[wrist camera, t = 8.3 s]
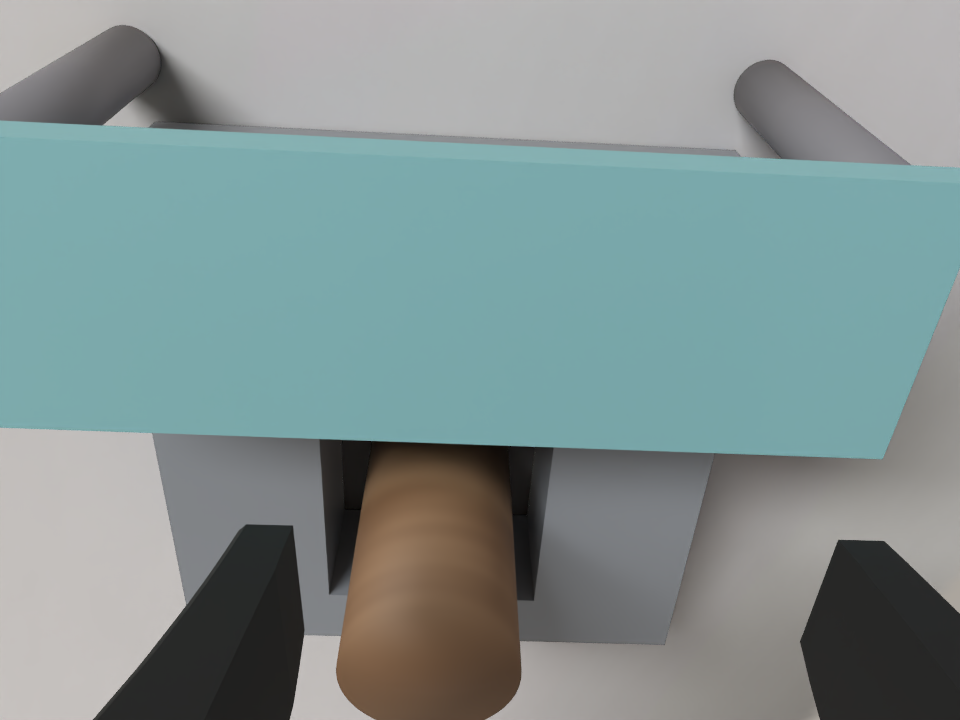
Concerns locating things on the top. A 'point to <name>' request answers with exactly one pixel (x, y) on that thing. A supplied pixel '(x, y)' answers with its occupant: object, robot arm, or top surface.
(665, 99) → the top surface
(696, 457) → the socket block
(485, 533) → the peg
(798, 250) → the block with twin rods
